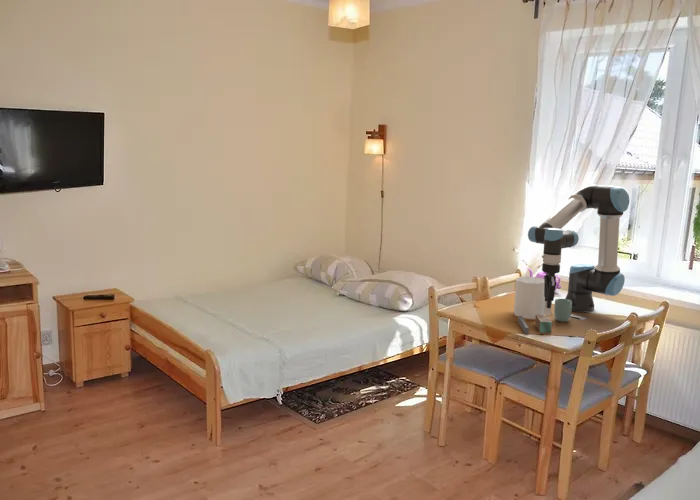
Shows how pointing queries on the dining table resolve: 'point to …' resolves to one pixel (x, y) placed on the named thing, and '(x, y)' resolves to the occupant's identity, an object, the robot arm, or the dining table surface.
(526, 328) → the rail
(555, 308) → the cup
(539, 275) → the teapot
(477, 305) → the dining table surface
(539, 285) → the container
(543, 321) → the brown and green block
